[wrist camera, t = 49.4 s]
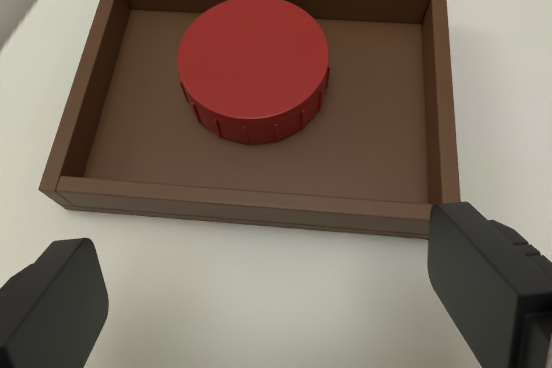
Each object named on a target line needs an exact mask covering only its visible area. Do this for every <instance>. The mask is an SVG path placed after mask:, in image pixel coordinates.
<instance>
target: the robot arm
mask: <svg viewBox="0 0 552 368" xmlns="http://www.w3.org/2000/svg"><path fill="white" fill-rule="evenodd" d="M428 274H429V278H430V282H431V285H432V287H433V289H434V291H435V292H436V294H437V295H438V297H439V299H440V300H441V302H442V304H443V305H444V307H445V308H446V310H447V312H448V313H449V315H450V316H451V318H452V320H453V321H454V323H455V324H456V326H457V328H458V329H459V331H460V333H461V334H462V336H463V337H464V339H465V341H466V342H467V344H468V345H469V347H470V349H471V350H472V352H473V353H474V355H475V357H476V358H477V360H478V362H479V363H480V365H481V366H482V368H552V262H550V261H549V260H548V259H547V258H546V257H545V256H544V255H542V256H541V255H540V252H539V251H538V250H537V249H536V248H534V247H533V246H532V245H529V244H528V241H526V240H525V239H524V238H523V237H522V236H521V235H520V234H518V233H517V232H516V231H515V230H514V229H512V228H509V227H507V226H505V225H503V224H501V223H499V222H496V221H494V220H487V219H486V218H485V217H484V216H482V215H481V214H480V213H479V212H478V211H477V210H476V209H475V208H474V207H473V206H472V205H471V204H470V203H468V202H457V203H446V204H435V205H433V206H432V208H431V211H430V222H429V242H428ZM108 307H109V301H108V294H107V290H106V286H105V282H104V279H103V275H102V271H101V268H100V264H99V260H98V257H97V253H96V249H95V246H94V244H93V242H92V241H91V240H90V239H89V238H80V239H70V240H59V241H54V242H52V243H51V244H50V245H49V247H48V248H47V249H46V250H45V251H44V252H43V254H42V255H41V256H40V257H39V258H38V259H37V260H36V262H35V263H34V264H31V265H29V266H28V267H26V268H25V269H23V270H22V271H20V272H18V273H17V274H15V275H14V276H12V277H11V278H10V279H9V280H8V281H7V282H6V283H5V284H4V286H3V287H2V288H1V289H0V368H83V367H84V365H85V363H86V361H87V359H88V357H89V355H90V353H91V351H92V349H93V346H94V344H95V342H96V340H97V338H98V336H99V334H100V332H101V330H102V328H103V326H104V324H105V321H106V319H107V315H108Z"/></svg>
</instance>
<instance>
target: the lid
mask: <svg viewBox="0 0 552 368" xmlns="http://www.w3.org/2000/svg"><path fill="white" fill-rule="evenodd" d="M328 64H329V48H328V43H327V40H326V37H325V35H324V32H323V31H322V29H321V27H320V26H319V24H318V23H317V22H316V21H315V20H314V18H313V17H312V16H310V15H309V14H308V13H307V12H306V11H304V10H303V9H301V8H300V7H298V6H296V5H294V4H292V3H289V2H287V1H284V0H228V1H225V2H223V3H220V4H218V5H216V6H214V7H212V8H210V9H209V10H207V11H206V12H204V13H203V14H202V15H200V16H199V17H198V18H197V19H196V20H195V21H194V22H193V23H192V24H191V25H190V27H189V28H188V29H187V31H186V32H185V34H184V36H183V38H182V40H181V43H180V45H179V50H178V54H177V67H178V73H179V76H180V79H181V81H179V82H180V85H181V88H182V90H183V93H184V95H185V98H186V100H187V102H189V103H190V106H191V108H192V110H193V112H194V114H195V116H196V118H197V121H198V122H199V123H200V122H201V123H202V124H203V125H204V126H205V127H206V128H208V129H209V130H210V131H212V132H213V133H215V134H216V135H218V137H219V138H225V139H228V140H231V141H234V142H239V143H245V144H246V145H249V144H263V143H269V142H274V141H275V142H278V140H281V139H283V138H286V137H288V136H290V135H292V134H294V133H295V132H297V131H299V130H300V129H301V130H303V129H304V126H305V125H306V124H307V123H308V122H309V121H310V120H311V119H312V118H313V117H314V115H315V114H316V113H317V111H318V110H319V111H320V110H321V105H322V101H323V98H324V94H325V88H328V80H329V73H330V66H328Z"/></svg>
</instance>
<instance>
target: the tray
mask: <svg viewBox="0 0 552 368" xmlns="http://www.w3.org/2000/svg"><path fill="white" fill-rule="evenodd" d="M225 1H228V0H100V2H99V5H98V8H97V11H96V14H95V17H94V20H93V23H92V26H91V29H90V32H89V35H88V38H87V41H86V45H85V48H84V51H83V54H82V57H81V60H80V63H79V66H78V69H77V72H76V75H75V78H74V81H73V84H72V88H71V91H70V94H69V97H68V100H67V103H66V106H65V109H64V112H63V115H62V118H61V121H60V124H59V127H58V131H57V134H56V137H55V140H54V143H53V146H52V149H51V152H50V155H49V158H48V161H47V164H46V167H45V170H44V174H43V177H42V180H41V183H40V186H39V190H40V191H41V192H42V193H44V194H45V195H47V196H48V197H49V198H51V199H52V200H54V201H55V202H56V203H58V204H59V205H61V206H62V207H64V208H65V209H69V210H81V211H94V212H106V213H118V214H130V215H142V216H155V217H167V218H179V219H191V220H204V221H216V222H228V223H240V224H253V225H265V226H277V227H289V228H302V229H314V230H326V231H338V232H351V233H363V234H375V235H387V236H399V237H412V238H424V239H429V222H430V211H431V208H432V206H433V205H435V204H446V203H457V202H461V201H460V187H459V173H458V158H457V144H456V130H455V115H454V101H453V87H452V72H451V58H450V44H449V29H448V15H447V1H446V0H284V1H287V2H289V3H292V4H294V5H296V6H298V7H300V8H301V9H303V10H304V11H306V12H307V13H308V14H309V15H310V16H312V17H313V18H314V20H315V21H316V22H317V23H318V24H319V26H320V27H321V29H322V31H323V32H324V35H325V37H326V40H327V43H328V48H329V64H328V66H330V73H329V80H328V88H325V94H324V98H323V101H322V105H321V110H320V111H319V110H318V111H317V113H316V114H315V115H314V117H313V118H312V119H311V120H310V121H309V122H308V123H307V124H306V125H305V126H304V129H303V130H301V129H300V130H299V131H297V132H295V133H294V134H292V135H290V136H288V137H286V138H283V139H281V140H278V142H275V141H274V142H269V143H263V144H249V145H246V144H245V143H239V142H234V141H231V140H228V139H225V138H219V137H218V135H216V134H215V133H213V132H212V131H210V130H209V129H208V128H206V127H205V126H204V125H203V124H202V123H201V122H200V123H199V122H198V121H197V118H196V116H195V114H194V112H193V110H192V108H191V106H190V103H189V102H187V100H186V98H185V95H184V93H183V90H182V88H181V85H180V82H179V81H181V79H180V76H179V73H178V67H177V54H178V50H179V45H180V43H181V40H182V38H183V36H184V34H185V32H186V31H187V29H188V28H189V27H190V25H191V24H192V23H193V22H194V21H195V20H196V19H197V18H198V17H199V16H200V15H202V14H203V13H204V12H206V11H207V10H209V9H210V8H212V7H214V6H216V5H218V4H220V3H223V2H225Z"/></svg>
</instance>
